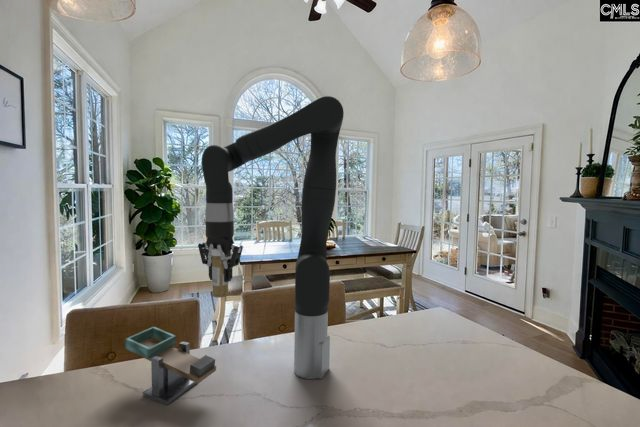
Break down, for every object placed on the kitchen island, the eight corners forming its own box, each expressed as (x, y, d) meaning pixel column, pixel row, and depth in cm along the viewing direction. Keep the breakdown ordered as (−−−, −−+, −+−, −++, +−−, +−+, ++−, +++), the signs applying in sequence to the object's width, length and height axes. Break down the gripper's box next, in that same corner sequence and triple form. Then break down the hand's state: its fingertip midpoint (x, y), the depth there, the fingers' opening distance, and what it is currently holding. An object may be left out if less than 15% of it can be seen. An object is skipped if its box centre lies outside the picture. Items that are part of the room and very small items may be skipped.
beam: (218, 368, 80) (220, 354, 79) (194, 386, 72) (196, 371, 72) (152, 338, 88) (153, 326, 88) (124, 352, 81) (125, 338, 80)
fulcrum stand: (198, 382, 84) (198, 344, 83) (167, 405, 74) (166, 363, 74) (175, 375, 87) (175, 339, 86) (142, 396, 78) (142, 356, 77)
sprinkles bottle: (231, 296, 89) (230, 248, 88) (214, 299, 87) (213, 250, 86) (225, 292, 93) (225, 246, 92) (209, 294, 90) (209, 247, 90)
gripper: (249, 219, 89) (249, 279, 90) (208, 217, 95) (209, 274, 96) (232, 221, 82) (233, 287, 83) (189, 219, 88) (190, 281, 89)
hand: (220, 280), depth 89 cm, fingers closed on sprinkles bottle, 4 cm apart
